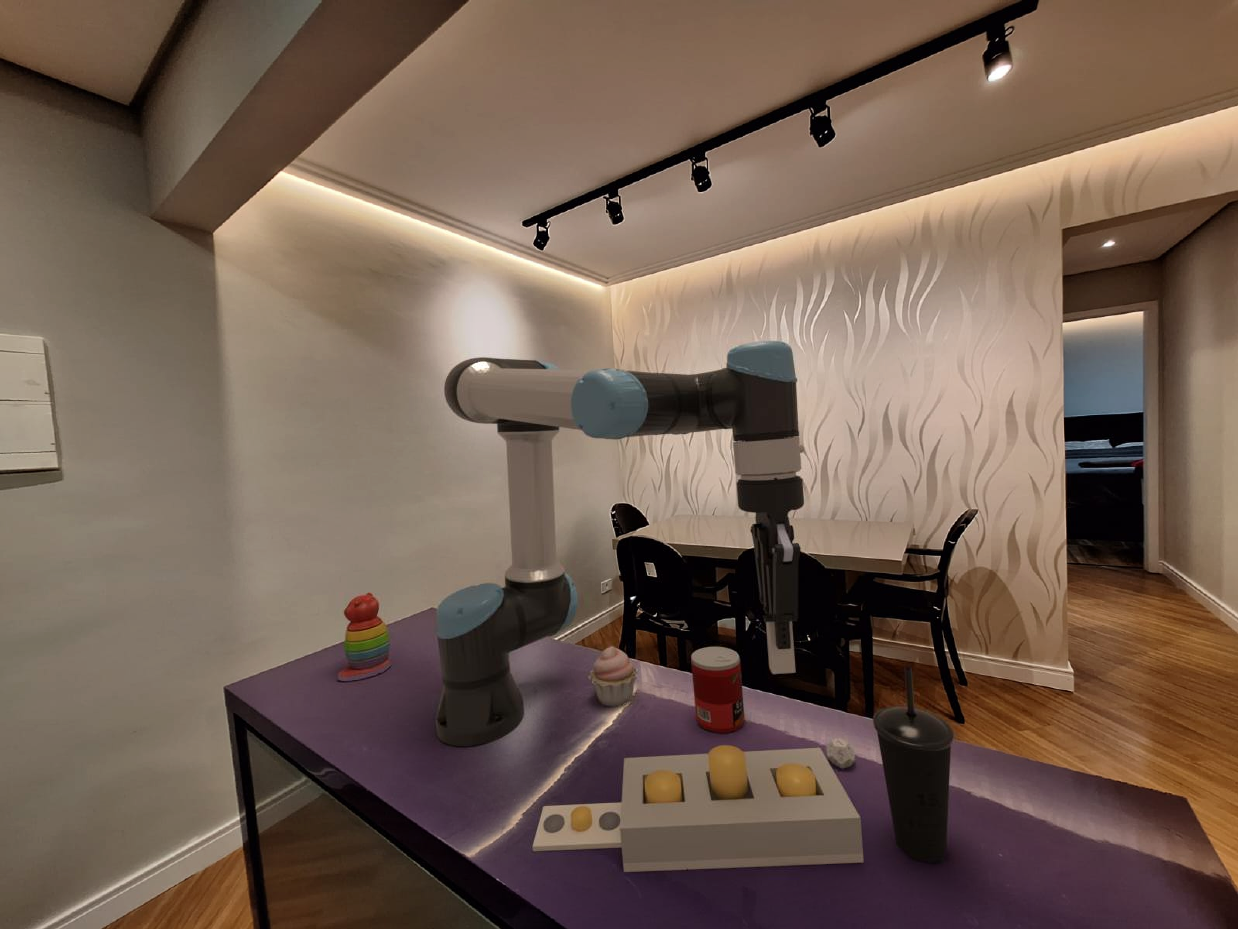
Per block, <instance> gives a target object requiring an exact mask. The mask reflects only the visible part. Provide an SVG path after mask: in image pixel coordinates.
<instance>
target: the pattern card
mask: <svg viewBox="0 0 1238 929" xmlns="http://www.w3.org/2000/svg"><path fill="white" fill-rule="evenodd" d="M621 804H622V801H621V802H605V803H603V802H601V803H584V804H583V803H581V804H563V805H562V804H560V805H545V806H543V807H542V811H541V814H540V818H539V822H538V826H537V829H536V833H535V837H534V840H533V843H532V852H548V851H572V850H589V849H590V850H594V849H616V848H617V849H618V848H621V849H622V845H621V834H620V820H621Z"/></svg>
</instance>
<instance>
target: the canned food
mask: <svg viewBox="0 0 1238 929" xmlns="http://www.w3.org/2000/svg"><path fill="white" fill-rule="evenodd" d="M690 658H691V660H690V661H691V672H692V673H691V675H692V676H691V677H692V686H693V696H694V706H695V709H694V710H695V717H696V719H697V722H698V724H699V725H700V726H701V727H702V728H703V729H705V730H707V731H710V732H713V733H717V732H718V733H719V734H720V733H721V734H725V733H731V732H735V731H737V730H739V729H740V728H741V727H742V726H743V724H744V720H745V707H744V706H745V705H744V694H743V693H744V692H743V682H742V669H741V668H742V667H741V659H740V655H739V654H738V652H737V651H735V650H733V649H731V648H728V647H722V646H708V647H703V648H699V649H696V650H695V651H694V652H692V654H691V657H690Z"/></svg>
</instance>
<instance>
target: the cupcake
mask: <svg viewBox="0 0 1238 929" xmlns="http://www.w3.org/2000/svg"><path fill="white" fill-rule="evenodd" d="M638 671H639V669H638V668H635V666H634V662H633V661H632V660H631V659H630V658H629V657H628V655H627V653H625V652H624V651H622V650H621V649H620V648H616V647H614V646H613V645H611V646H609V647H606V648H605V649H604V650H603V651H602V653H601V655H600V656H598V658H596V660H595V661H594V664H593V669H592V670H591V671H590V675H588V679H589V681H590V682H591V684H592V685H593V688H594V690H595V693H596V695H597V698H598V701H599V703H600V702H601V703H602V704H601V703H600V704H601V705H603V706H605V705H606V707H610V706H616V707H620V706H619V705H621V706H624V705H626V704H628V703H629V702H630V701H631V700H632V697H633V696H634V695H633V694H634V685H635V682H636V680H637V678H638ZM627 702H628V703H627ZM625 703H626V704H625ZM623 704H624V705H623Z"/></svg>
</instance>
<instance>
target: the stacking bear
mask: <svg viewBox="0 0 1238 929" xmlns="http://www.w3.org/2000/svg"><path fill="white" fill-rule="evenodd" d="M379 609H380V603H379V600H378V599H377V598H376V597H375V596H374V594H373V593H371V592H367V593H366V594H361V595H358V596H355V597H354V598H352V599H351V600H350V602H349V603H348V604H347V606H346V608H345V609H344V610H343V615H344V616H345V617H344V618H346V620H348V622H349V623H348V624H347V626H346V631H345V634H344V635H345V636H344V642H343V649H344V654H345V657H346V660H347V664H348V666H347V667H345V668H344V669H342V670H340V671H339V673H338V674H337V675H339V676H341V677H343V676H344V677H345V676H346V677H349V676H350V677H351V676H356V675H361V674H367V673H370V672H372V671H375V670H377V669H380V668H381V667H384V666H385V665H386V664H388V663H389V661H390V660H391V658H390V657H389V652H390V646H391V645H390V644H391V639H390V634H389V631H388V627H387V625H386V622H385V621H384V620H383V619H382V618H381V617H380V616H378V614H379Z"/></svg>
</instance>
